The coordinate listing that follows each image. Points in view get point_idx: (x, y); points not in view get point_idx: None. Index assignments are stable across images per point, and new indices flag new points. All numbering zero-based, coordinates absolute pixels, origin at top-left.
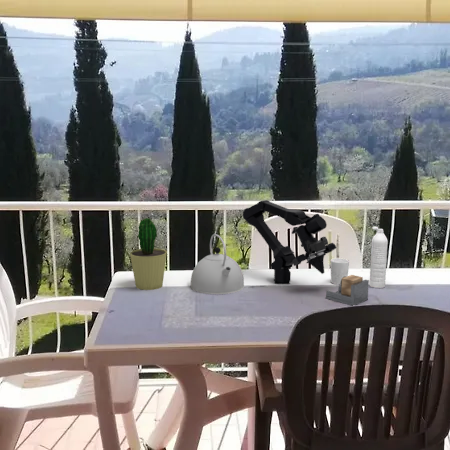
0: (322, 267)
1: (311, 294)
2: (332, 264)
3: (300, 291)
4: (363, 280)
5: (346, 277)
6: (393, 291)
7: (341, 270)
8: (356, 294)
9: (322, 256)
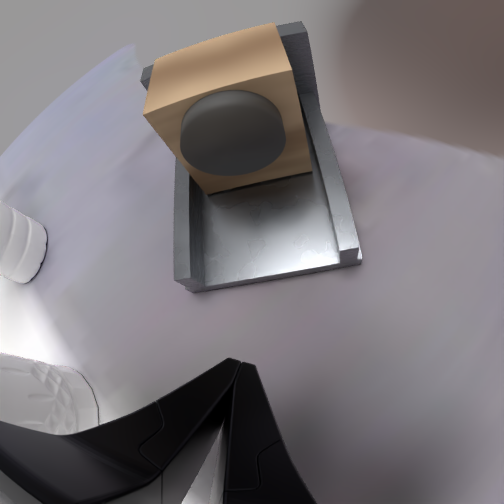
0: (213, 391)
1: (376, 385)
2: None
3: (381, 473)
4: None
5: (240, 73)
6: (54, 178)
7: (20, 373)
8: None
9: (40, 452)
